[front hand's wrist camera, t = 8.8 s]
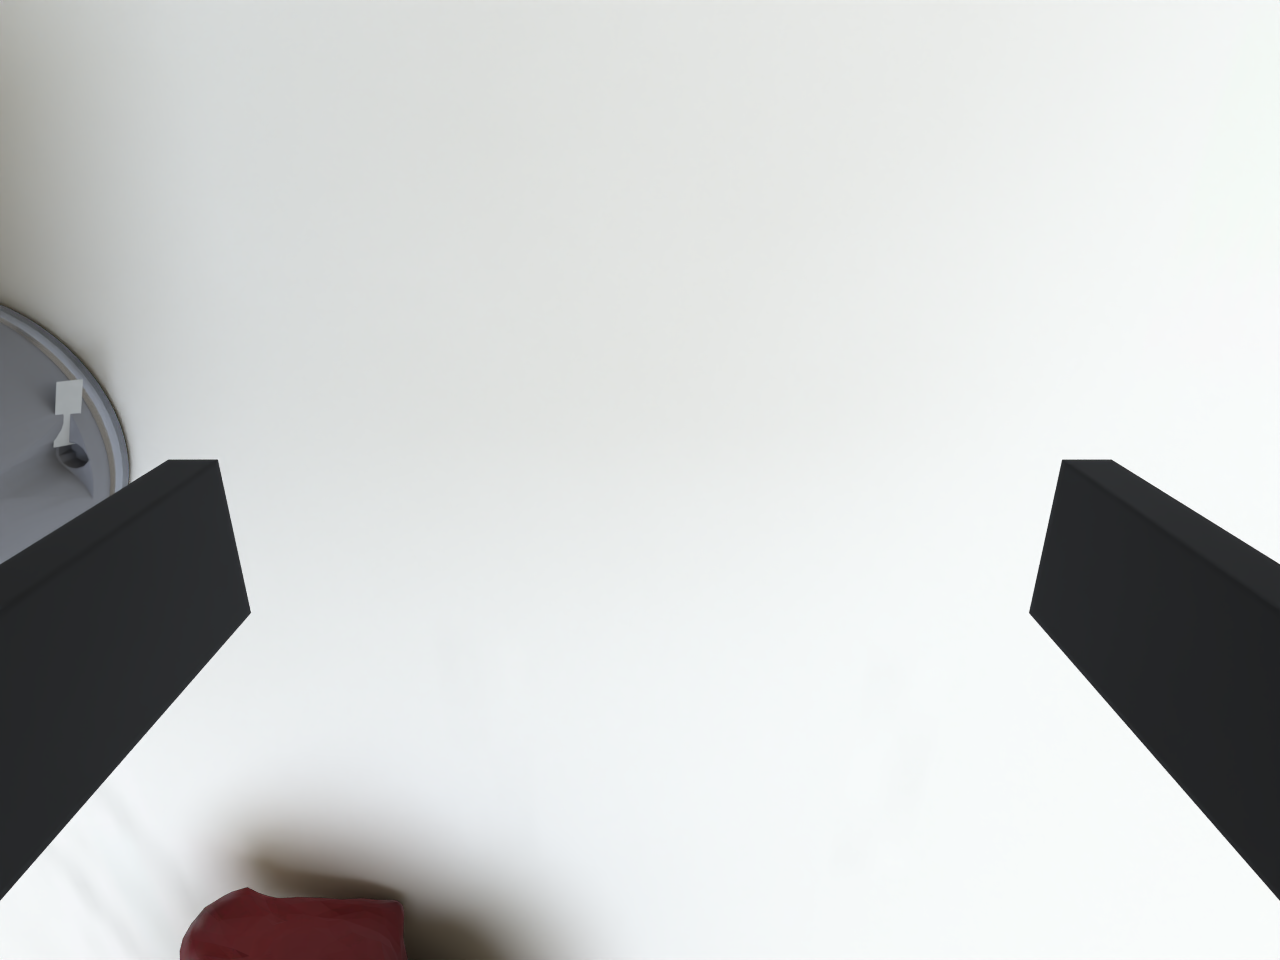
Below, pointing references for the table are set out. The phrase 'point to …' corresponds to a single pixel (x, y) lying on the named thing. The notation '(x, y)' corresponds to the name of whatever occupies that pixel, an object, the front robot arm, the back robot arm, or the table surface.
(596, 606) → the table surface
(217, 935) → the dark red rounded piece
